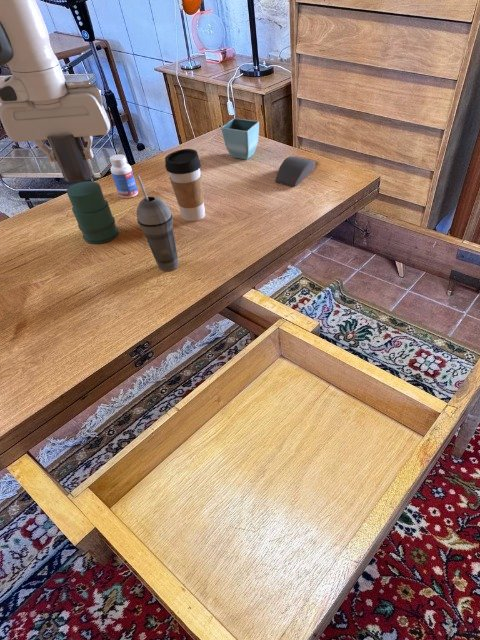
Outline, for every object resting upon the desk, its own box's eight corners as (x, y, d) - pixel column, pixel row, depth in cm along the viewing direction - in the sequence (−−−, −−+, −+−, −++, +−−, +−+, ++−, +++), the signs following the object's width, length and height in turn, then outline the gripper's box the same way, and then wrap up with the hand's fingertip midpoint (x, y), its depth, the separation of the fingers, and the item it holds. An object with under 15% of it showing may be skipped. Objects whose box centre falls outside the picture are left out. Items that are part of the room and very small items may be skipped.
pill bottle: (134, 199, 122) (122, 162, 114) (115, 198, 122) (103, 161, 115) (141, 190, 125) (130, 153, 118) (123, 189, 126) (111, 152, 118)
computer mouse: (318, 169, 132) (319, 154, 129) (296, 188, 124) (296, 173, 121) (295, 164, 134) (294, 150, 131) (272, 182, 127) (271, 167, 124)
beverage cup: (174, 277, 98) (148, 186, 82) (146, 271, 100) (116, 181, 84) (190, 260, 102) (169, 170, 87) (163, 254, 104) (137, 165, 88)
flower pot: (262, 152, 140) (259, 120, 133) (250, 163, 135) (247, 131, 128) (237, 149, 143) (233, 117, 136) (224, 159, 137) (220, 127, 130)
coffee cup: (215, 217, 114) (205, 156, 103) (185, 227, 112) (171, 165, 100) (201, 204, 119) (189, 144, 107) (172, 214, 116) (157, 153, 104)
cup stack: (81, 245, 107) (60, 199, 98) (86, 227, 112) (67, 181, 103) (117, 242, 108) (100, 195, 99) (120, 224, 113) (104, 178, 104)
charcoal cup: (62, 183, 97) (43, 139, 90) (66, 171, 101) (48, 128, 94) (91, 181, 97) (74, 136, 90) (94, 169, 101) (78, 125, 94)
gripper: (98, 75, 89) (121, 149, 99) (-8, 83, 87) (27, 157, 97) (94, 84, 85) (119, 160, 95) (-17, 93, 83) (20, 169, 93)
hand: (71, 159), depth 96 cm, fingers closed on charcoal cup, 6 cm apart
